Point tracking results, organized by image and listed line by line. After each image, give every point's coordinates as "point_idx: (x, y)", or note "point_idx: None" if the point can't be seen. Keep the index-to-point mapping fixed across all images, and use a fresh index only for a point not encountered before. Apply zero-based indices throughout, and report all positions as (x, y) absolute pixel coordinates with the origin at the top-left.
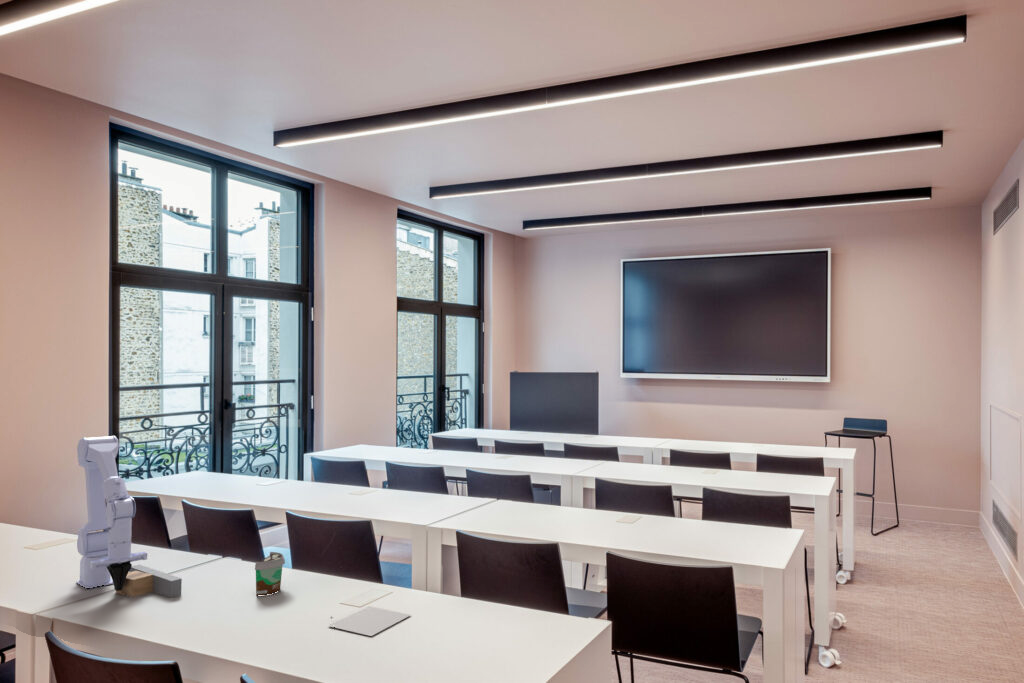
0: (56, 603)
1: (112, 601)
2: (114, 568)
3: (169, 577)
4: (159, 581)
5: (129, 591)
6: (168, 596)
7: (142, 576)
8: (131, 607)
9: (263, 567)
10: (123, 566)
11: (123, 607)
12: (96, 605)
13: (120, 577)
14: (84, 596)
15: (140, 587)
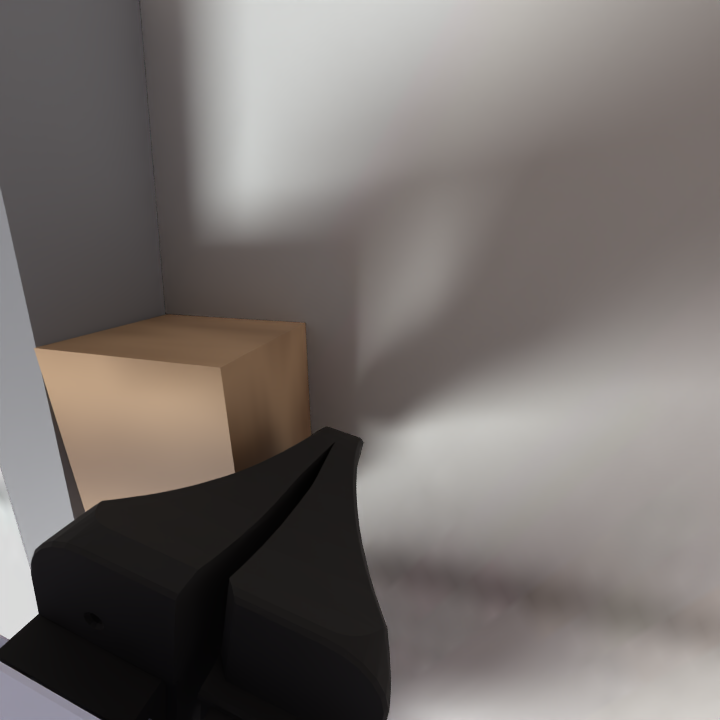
0: (655, 679)
1: (447, 372)
2: (347, 677)
3: None
4: (59, 215)
5: (291, 380)
6: (139, 46)
7: (117, 386)
8: (493, 29)
9: None
10: (181, 597)
11: (528, 113)
12: (582, 402)
13: (287, 514)
14: (460, 615)
15: (214, 332)
